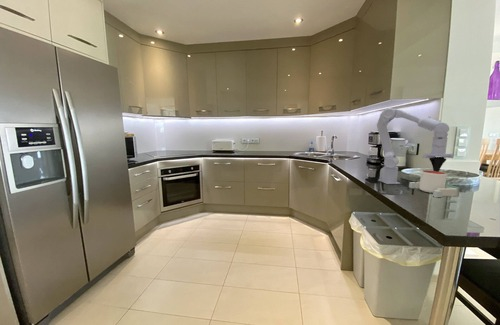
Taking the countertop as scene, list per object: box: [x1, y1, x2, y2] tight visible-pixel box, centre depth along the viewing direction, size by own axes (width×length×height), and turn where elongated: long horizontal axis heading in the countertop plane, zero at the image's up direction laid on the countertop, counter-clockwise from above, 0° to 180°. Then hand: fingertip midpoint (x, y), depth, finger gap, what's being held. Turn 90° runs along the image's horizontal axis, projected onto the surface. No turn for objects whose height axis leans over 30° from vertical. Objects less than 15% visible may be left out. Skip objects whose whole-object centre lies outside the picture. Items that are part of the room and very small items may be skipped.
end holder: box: [415, 181, 461, 197], centre depth 111 cm, size 14×10×4 cm
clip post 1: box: [408, 181, 416, 189], centre depth 119 cm, size 2×2×3 cm
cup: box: [419, 170, 448, 194], centre depth 111 cm, size 10×10×10 cm
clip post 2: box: [432, 190, 443, 198], centre depth 103 cm, size 2×2×3 cm
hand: (436, 171), depth 116 cm, fingers closed
